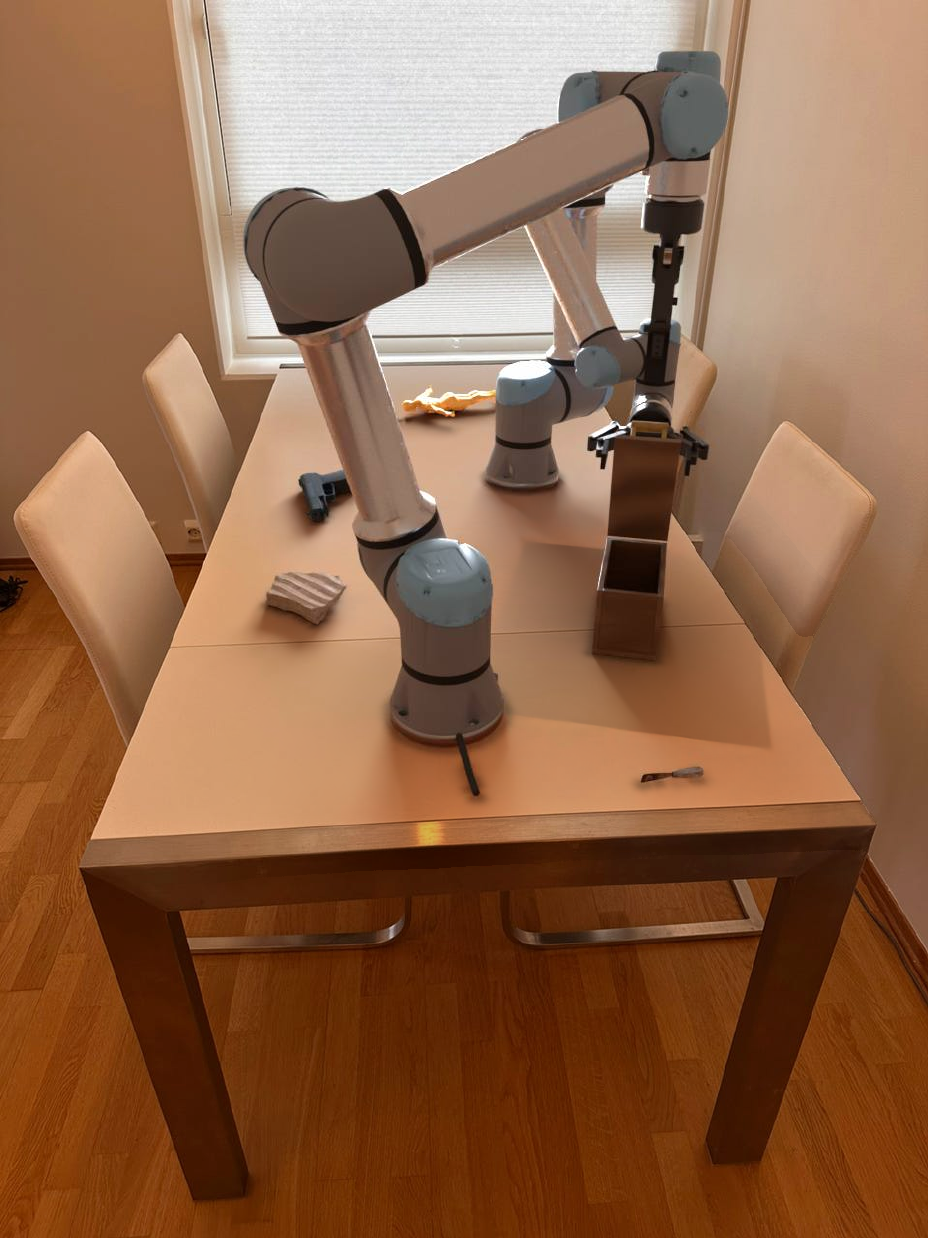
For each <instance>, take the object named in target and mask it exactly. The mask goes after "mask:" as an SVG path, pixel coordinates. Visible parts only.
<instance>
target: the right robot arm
mask: <svg viewBox="0 0 928 1238" xmlns="http://www.w3.org/2000/svg"><path fill="white" fill-rule="evenodd" d="M543 129H544V128H536V129H533V130H530V131H527V132H526V133H525V134H523V135H522V136H520V137H519V139H517V140H516V141H518V140H521V139H523V138H525V137H527V136H530V135H532V134H534V133H536V132H538V131H541V130H543ZM613 187H614V184H613V185H611V186H608V187H606V188H604V189H602V190H600V191H598V192H596V193H594V194H591V195H589V196H587V197H585V198H583V199H581V200H579V201H577V202H574V203H572V204H570V205H568V206H566V207H564V208H562V209H560V210H557V211H555V212H553V213H551V214H549V215H547V216H545V217H543V218H541V219H538V220H536V221H534V222H532V223H530V224H528V225H526V226H524V227H523V228H524V229H525V231H526V233H527V235H528V237H529V240H530V242H531V243H532V247H533V248H534V250H535V251H534V252H535V253H536V255H537V258H538V260H539V262H540V264H541V266H542V268H543V271H544V273H545V275H546V278H547V280H548V282H549V284H550V286H551V288H552V322H553V323H552V324H553V325H552V327H553V329H552V332H553V334H552V335H553V337H552V338H553V341H552V342H553V343H552V346H551V347H550V348H549V349H548V350H547V351H546V353H545V355H546V356H545V361H543V360H542V361H541V360H529V361H518V362H515V363H512V364H509V365H507V366H505V367H504V368H503V369H502V370H501V371H500V372H499V373H498V374H497V377H496V384H495V385H496V386H495V389H494V390H495V398H496V403H495V422H494V423H495V425H494V426H495V430H494V432H495V434H494V445H493V448H492V451H491V453H490V457H489V459H488V462H487V465H486V469H485V479H486V481H487V483H489V484H490V485H492V486H493V487H494V488H497V489H500V490H503V491H507V492H515V493H532V492H533V493H534V492H540V491H543V490H547V489H549V488H551V487H553V486H556V484H557V483H558V481H559V472H560V471H559V466H558V463H557V459H556V456H555V453H554V449H553V445H552V437H553V436H552V435H553V426H554V425H558V424H561V423H564V422H568V421H572V420H576V419H578V418H585V417H589V416H591V415H592V414H595V413H597V412H599V411H601V410H603V409H604V408H605V406H607V405H608V403H609V401H610V400H611V398H612V396H613V392H614V389H615V386H617V385H619V384H623V383H626V382H629V381H633V380H634V387H633V397H632V404H631V410H630V415H629V420H628V424H626V425H625V426H623V425H622V426H621V425H620V424H619V422H618V421H617V420H613V421H611V422H610V423H609V424H608V425H607V426H605V427H603V428H601V429H599V430H597V431H594V432H593V433H591V434H589V435H588V436H587V444H586V451H587V452H594V451H595V457H596V458H598V459H600V464H599V465H600V466H599V469H600V470H605V469H606V467H607V466H606V465H607V462H608V456H609V452H611V451H614V442H615V435H625V436H631V421H646V422H661V423H669V426H668V433H667V435H666V439H680V440H681V447H680V455H679V456H681V457H683V458H684V469H683V471H684V472H683V473H684V474H683V477H690V474H691V473H690V472H691V466H697V465H698V460H699V459H700V460H702V461H707V460H708V457H709V451H710V444H709V443H708V442H706V441H705V440H703V439H702V438H701V437H699V436H698V435H697V434H695V433H694V432H693V431H691V428H690V427H689V426H687V425H684V426H681V427H682V428H680V429H679V430H675V429H674V428H673V427H672V420H673V406H674V398H675V388H676V378H677V372H678V371H677V370H678V363H679V357H680V349H681V348H680V347H681V346H682V345H681V344H682V343H681V337H682V333H681V332H682V326H681V323H679V321H677V320H675V319H674V318H673V319H672V318H671V330H670V338H669V347H668V356H667V364H666V373H665V381H664V384H663V383H646V382H643V380H644V370H645V360H646V351H647V341H648V332H644V325H649V324H650V322H651V317H648V318H645V319H643V321H641V322H640V325H639V329H638V334H637V335H632V336H629V337H622V334H621V332H620V330H619V329H618V327H617V324H616V322H615V320H614V318H613V315H612V313H611V310H610V308H609V307H608V304H607V302H606V300H605V297H604V295H603V292H602V291H601V288H600V286H599V284H598V281H597V259H598V258H597V253H598V252H597V251H598V250H597V247H598V246H597V245H598V215H600V212H602V210H604V208H605V207H606V193H608V192H609V191H610V190H611V189H612V188H613ZM636 436H638V437H652V438H661V436H662V433H649V432H636Z"/></svg>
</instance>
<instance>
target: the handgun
mask: <svg viewBox="0 0 928 1238" xmlns="http://www.w3.org/2000/svg"><path fill="white" fill-rule="evenodd" d="M298 486H299V487H300V488H301V490H302V493H303V497H304V500H305V503H306V506H307V509H308V511H307V512H306V515H307V516H310V519H311V520H312V521H314V522H322V521H324V520H325V515H326V517H329V506H328V503H329V502H334V501H336V494H341V493H346V492H351V490H350V487H349V484H348V481H347V479H346V476H345V473H344V471H343V469H341V470H336V471H333V472H329V473H325V474H320V473H318V472H316V471H315V472H305V473H303V474H301V475H300V476H299V478H298Z"/></svg>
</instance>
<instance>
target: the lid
mask: <svg viewBox="0 0 928 1238" xmlns="http://www.w3.org/2000/svg"><path fill="white" fill-rule="evenodd" d="M668 426H669V423H661V422H646V421H631V436H625V435H615V442H614V450H613V455H612V457H613V458H612V459H613V460H612V470H611V483H610V496H609V505H608V506H609V507H608V519H607V532H606V536H607V537H613V538H624V539H635V540H646V541H656V542H668V540H669V535H670V533H669V532H670V526H671V519H672V512H673V505H674V504H673V503H674V497H675V489H676V482H677V475H678V468H679V460H680V456H681V455H680V447H681V440H680V439H666V435H667V433H668ZM636 432H649V433H662V436H661V438H652V437H638V436H636Z"/></svg>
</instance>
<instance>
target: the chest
mask: <svg viewBox="0 0 928 1238" xmlns="http://www.w3.org/2000/svg"><path fill="white" fill-rule="evenodd" d="M605 541H606V542H605V547H604V553H603V558H602V563H601V568H600V573H599V579H598V584H597V589H596V599H595V612H594V622H593V623H594V624H593V635H592V647H591V654H593V655H594V654H595V655H601V656H602V655H603V656H612V657H621V658H626V659H627V658H629V659H636V660H644V661H645V660H646V661H652V662H653V661H654V662H655V661H656V660H657V659H656V658H657V654H658V653H657V652H658V644H659V637H660V631H661V630H660V629H661V622H662V614H663V607H664V599H665V586H666V585H665V584H666V568H667V552H668V542H665V541H653V540H642V539H631V538H621V537H611V536H607V537H606V540H605Z"/></svg>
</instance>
